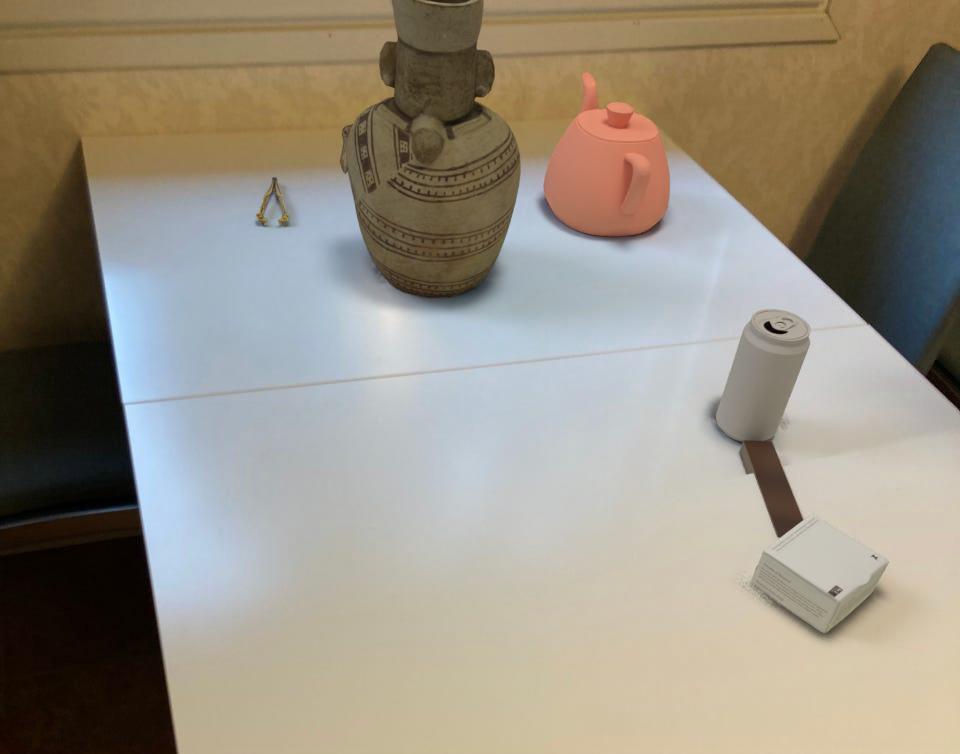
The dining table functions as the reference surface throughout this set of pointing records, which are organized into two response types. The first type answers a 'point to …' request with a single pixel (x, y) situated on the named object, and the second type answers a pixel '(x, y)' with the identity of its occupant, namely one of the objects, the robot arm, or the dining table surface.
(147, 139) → the dining table surface
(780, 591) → the small box
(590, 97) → the teapot
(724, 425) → the beverage can
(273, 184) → the tongs
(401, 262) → the ceramic vessel
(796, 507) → the walnut slat
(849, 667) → the dining table surface
